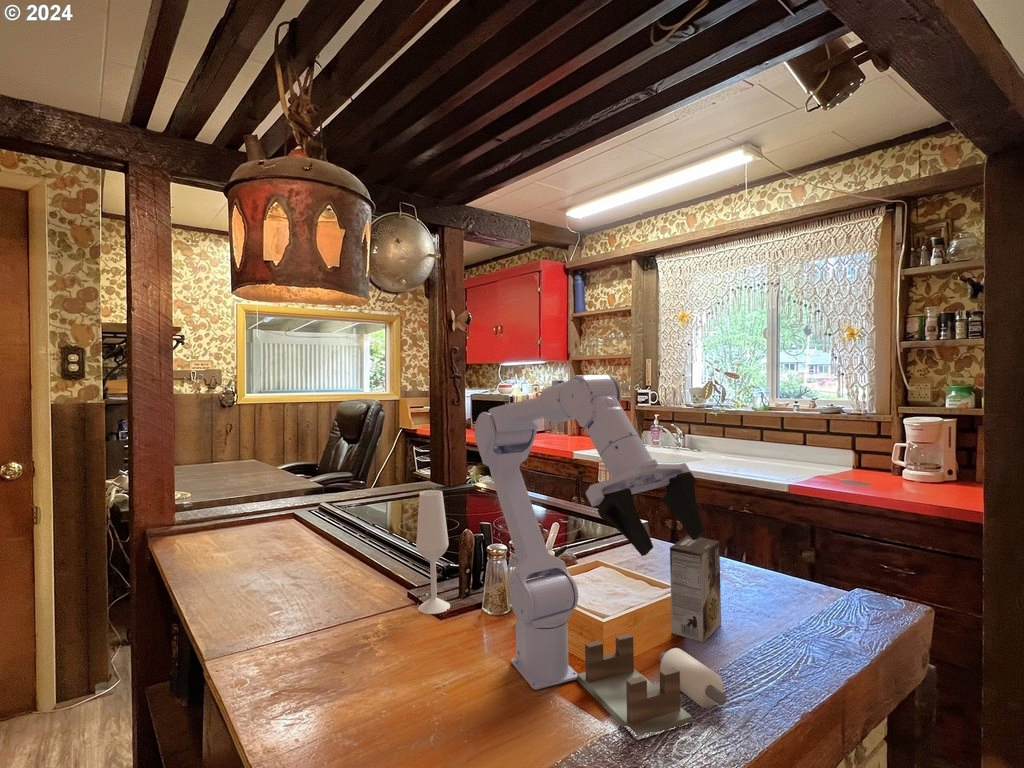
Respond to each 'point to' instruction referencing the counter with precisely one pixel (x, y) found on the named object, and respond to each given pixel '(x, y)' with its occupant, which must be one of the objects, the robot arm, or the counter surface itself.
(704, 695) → the paper roll
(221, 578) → the counter surface
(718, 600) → the coffee box
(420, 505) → the champagne flute
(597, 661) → the roll holder
